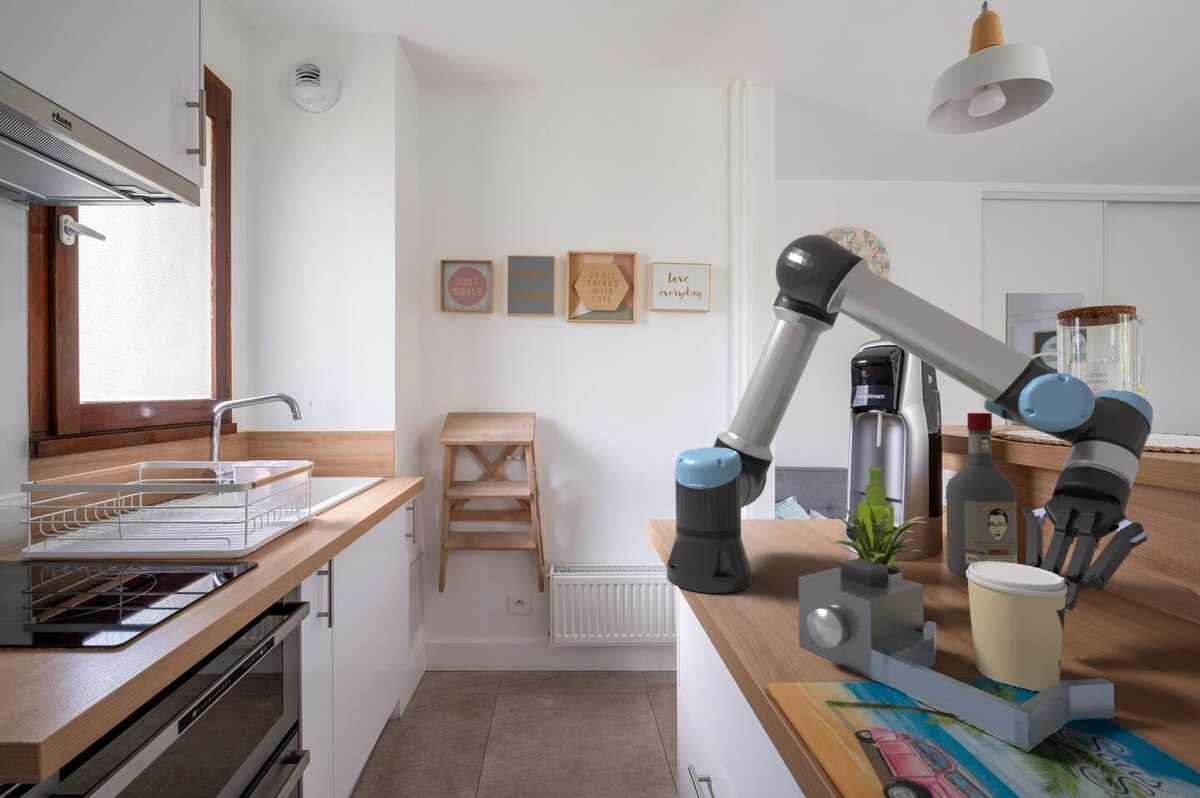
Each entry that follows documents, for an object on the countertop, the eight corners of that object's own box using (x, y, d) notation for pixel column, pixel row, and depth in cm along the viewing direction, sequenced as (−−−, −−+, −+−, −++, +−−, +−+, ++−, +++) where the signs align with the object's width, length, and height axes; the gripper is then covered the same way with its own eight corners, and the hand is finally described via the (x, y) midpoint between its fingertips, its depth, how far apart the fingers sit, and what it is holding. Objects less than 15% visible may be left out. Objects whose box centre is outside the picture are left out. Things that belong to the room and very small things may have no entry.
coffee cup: (1090, 700, 57) (1088, 588, 57) (991, 691, 58) (990, 582, 59) (1036, 659, 66) (1035, 562, 66) (953, 652, 68) (952, 558, 68)
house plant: (947, 636, 72) (946, 516, 72) (836, 622, 77) (835, 510, 77) (923, 600, 86) (922, 499, 86) (830, 590, 90) (829, 494, 91)
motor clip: (864, 622, 77) (864, 546, 77) (1115, 717, 54) (1114, 607, 54) (789, 649, 69) (788, 564, 69) (1046, 774, 45) (1044, 645, 45)
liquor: (941, 567, 103) (939, 412, 103) (989, 567, 102) (987, 412, 102) (972, 583, 93) (970, 413, 94) (1025, 584, 93) (1023, 413, 93)
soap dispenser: (895, 573, 99) (894, 466, 99) (893, 584, 93) (892, 470, 94) (861, 568, 102) (859, 464, 103) (856, 578, 96) (855, 468, 97)
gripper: (1166, 505, 70) (1124, 663, 62) (1046, 492, 82) (995, 623, 73) (1153, 468, 68) (1106, 627, 59) (1030, 459, 79) (975, 592, 70)
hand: (1045, 625), depth 66 cm, fingers closed
